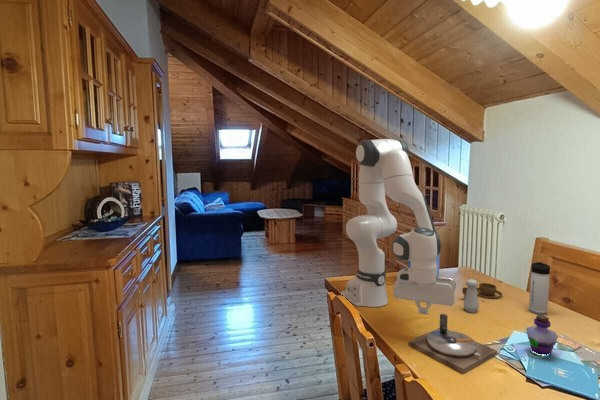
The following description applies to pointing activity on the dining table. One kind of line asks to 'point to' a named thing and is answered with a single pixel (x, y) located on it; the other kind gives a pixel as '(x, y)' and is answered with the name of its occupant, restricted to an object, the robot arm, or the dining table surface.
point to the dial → (451, 341)
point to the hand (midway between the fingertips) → (423, 313)
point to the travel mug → (539, 288)
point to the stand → (454, 362)
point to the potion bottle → (541, 336)
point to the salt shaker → (471, 296)
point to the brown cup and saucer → (486, 291)
